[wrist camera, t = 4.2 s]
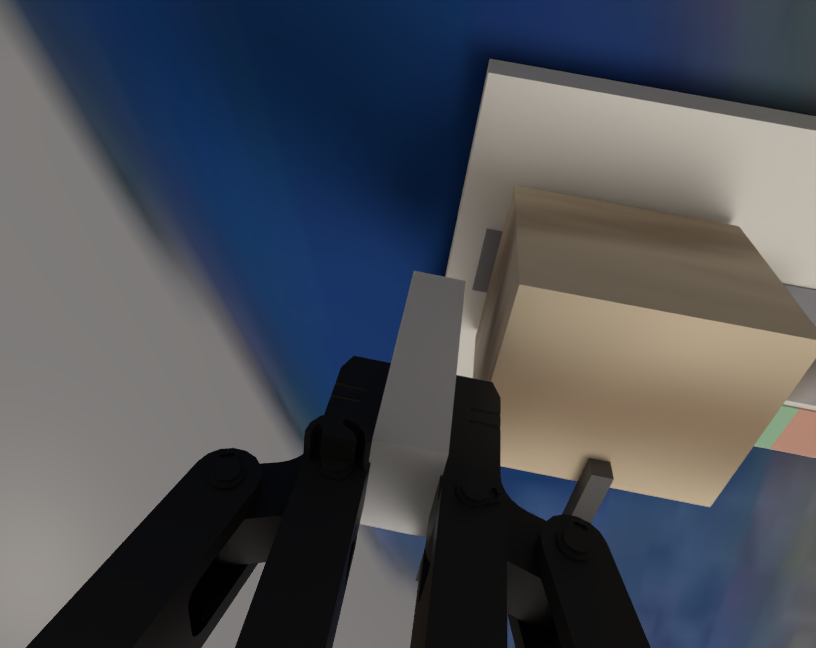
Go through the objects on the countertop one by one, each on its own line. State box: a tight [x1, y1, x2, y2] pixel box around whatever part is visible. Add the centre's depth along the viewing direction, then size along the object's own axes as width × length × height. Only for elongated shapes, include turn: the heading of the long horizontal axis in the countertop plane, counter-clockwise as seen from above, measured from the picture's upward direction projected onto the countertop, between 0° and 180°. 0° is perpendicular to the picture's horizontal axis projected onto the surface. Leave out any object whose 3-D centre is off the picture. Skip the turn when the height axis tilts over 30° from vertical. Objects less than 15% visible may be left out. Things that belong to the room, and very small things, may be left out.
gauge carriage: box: [473, 185, 816, 523], centre depth 18 cm, size 10×10×7 cm
